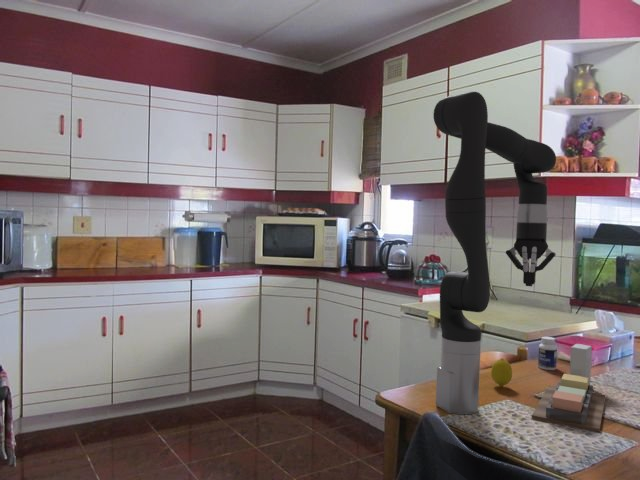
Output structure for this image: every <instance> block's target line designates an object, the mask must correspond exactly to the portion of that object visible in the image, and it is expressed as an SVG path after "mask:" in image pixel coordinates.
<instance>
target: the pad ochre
mask: <svg viewBox="0 0 640 480" xmlns="http://www.w3.org/2000/svg"><path fill="white" fill-rule="evenodd" d="M560 379H561V386H565V387H571V388H577V389H583V390H586V392H587V391H588V380H589V377H583V376H576V375H570V373H563V375H562V376H561V378H560Z"/></svg>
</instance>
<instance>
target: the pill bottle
mask: <svg viewBox="0 0 640 480" xmlns="http://www.w3.org/2000/svg"><path fill="white" fill-rule="evenodd" d="M540 341H541V343H539V345H538V355H537V356H538V360H537V361H538V362H537V367H538V368H539V369H541V370H546V371H556V369H557V359H558V357H557V355H558V346H557V345H556V338H555V337H553V336H552V337H551V336H542V337H541V340H540Z"/></svg>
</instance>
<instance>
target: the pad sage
mask: <svg viewBox="0 0 640 480" xmlns="http://www.w3.org/2000/svg"><path fill="white" fill-rule="evenodd" d="M558 391H561V392H567V393H573V394H578V395H583V402H585V399H586V390H583V389H577V388H571V387H565V386H559V388H558Z"/></svg>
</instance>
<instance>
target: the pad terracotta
mask: <svg viewBox="0 0 640 480" xmlns="http://www.w3.org/2000/svg"><path fill="white" fill-rule="evenodd" d="M552 407H553V408H558V409H563V410H569V411H574V412H580V413H581V412H582V408H583V395H578V394H573V393H567V392H561V391H555V393H554V395H553V397H552Z"/></svg>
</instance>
